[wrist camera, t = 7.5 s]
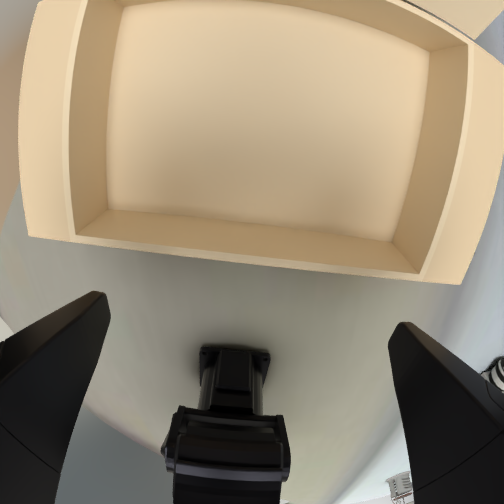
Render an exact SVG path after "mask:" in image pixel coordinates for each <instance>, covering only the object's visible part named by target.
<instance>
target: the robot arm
mask: <svg viewBox="0 0 504 504" xmlns="http://www.w3.org/2000/svg"><path fill="white" fill-rule="evenodd" d="M110 319H111V314H110V309H109V305H108V300H107V296H106V294H105V293H103V292H99V291H91V292H89V293H88V294H86V295H84V296H82V297H80V298H78V299H76V300H74V301H73V302H71V303H69V304H67V305H65V306H63V307H62V308H60V309H58V310H56V311H54V312H52V313H51V314H49V315H47V316H45V317H43V318H42V319H40V320H38V321H36V322H35V323H33V324H31V325H29V326H28V327H26V328H24V329H22V330H21V331H19V332H17V333H15V334H14V335H12V336H10V337H9V338H7V339H6V340H5V341H2V342H0V504H54V503H55V498H56V493H57V489H58V484H59V480H60V475H61V474H60V473H61V470H62V467H63V463H64V459H65V456H66V452H67V448H68V445H69V442H70V438H71V435H72V432H73V429H74V426H75V422H76V420H77V417H78V413H79V411H80V408H81V405H82V402H83V399H84V397H85V394H86V391H87V389H88V386H89V383H90V381H91V378H92V376H93V373H94V370H95V368H96V365H97V363H98V359H99V356H100V353H101V349H102V346H103V343H104V339H105V336H106V333H107V330H108V327H109V323H110ZM388 350H389V356H390V362H391V368H392V374H393V381H394V387H395V391H396V396H397V400H398V404H399V409H400V413H401V418H402V423H403V428H404V433H405V438H406V444H407V450H408V456H409V462H410V469H411V477H412V485H413V491H414V492H413V495H414V504H504V393H503V392H501V391H500V390H499V389H497V388H496V387H495V386H494V385H492V384H491V383H490V382H489V381H487V380H486V379H484V377H482V376H481V375H480V374H479V373H477V372H476V371H475V370H473V369H472V368H471V367H470V366H468V365H467V364H466V363H464V362H463V361H462V360H461V359H459V358H458V357H457V356H455V355H454V354H453V353H451V352H450V351H449V350H448V349H446V348H445V347H444V346H442V345H441V344H440V343H438V342H437V341H436V340H434V339H433V338H432V337H430V336H429V335H428V334H426V333H425V332H424V331H422V330H421V329H419V328H418V327H417V326H415V325H414V324H413V323H411V322H400V323H399V324H398V325H397V326H396V328H395V330H394V332H393V334H392V336H391V337H390V339H389V342H388ZM269 363H270V354H268V353H261V352H249V351H239V350H229V349H220V348H212V347H201V348H200V387H201V391H200V397H199V403H198V409H193V408H187V407H186V406H181V405H179V408H178V411H177V413H176V412H175V413H174V414H173V417H172V422H171V426H170V430H169V432H168V434H167V436H166V438H165V441H164V443H163V445H162V447H161V454H162V455H163V457H164V458H165V462H166V468H167V472H169V473H173V474H174V477H173V503H174V504H279V503H280V493H281V484H282V482H286V481H287V479H288V477H289V473H290V464H291V455H290V447H289V442H288V437H287V432H286V428H285V423H284V418H283V415H276V416H269V415H263V397H262V388H263V385H264V381H265V378H266V374H267V371H268V367H269Z"/></svg>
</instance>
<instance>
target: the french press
mask: <svg viewBox="0 0 504 504" xmlns="http://www.w3.org/2000/svg"><path fill="white" fill-rule="evenodd" d="M409 473H410V471H407V472H403V473H401V474H398V475H395V476H393V477H391V478H389V479H387V480H386V482H389V487H390V491H391V496H392V497H391V498H393V497H395V499H394V500H397V499H400V498H403V500H404V497H406V496H408V495H411V494H412V493H408V494H405V493H407V492H409V491H411V490H412V485H411V482H410V480H409V479H410V478H409ZM408 480H409V481H408ZM394 482H395V484H394ZM394 485H396V486H395V487H394ZM395 488H396V489H395ZM396 490H397V492H395V491H396ZM402 494H405V495H402ZM399 495H402V496H400V497H397V496H399ZM396 497H397V498H396ZM391 500H392V499H391ZM392 502H393V500H392ZM397 502H399V501H397ZM397 502H396V504H397ZM403 502H404V501H403ZM400 504H401V501H400ZM407 504H414V501H412V502H409V503H407Z"/></svg>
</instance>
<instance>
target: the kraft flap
mask: <svg viewBox="0 0 504 504" xmlns="http://www.w3.org/2000/svg"><path fill="white" fill-rule="evenodd" d="M407 1H409V2H411V3H413V4H415V5H417V6H419V7H421V8H423V9H425V10H427V11H429V12H431V13H433V14H434V15H436V16H438V17H440V18H441V19H443V20H445V21H446V22H448V23H450V24H451V25H453V26H455V27H456V28H458V29H459V30H461V31H462V32H464V33H465V34H467V35H468V36H470V37H471V38H472V39H474V40H475V39H476V38H477V37H478V36H479V35H480V34H481V33H482V32H483V31H484V30H485V29H486V28H487V26H488V25H489V24H490V23H491V22H492V21H493V20H494V19H495V18H496V17H497V16H498V15H499V14H500V13H501V12H502V11H503V10H504V0H407Z"/></svg>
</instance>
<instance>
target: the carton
mask: <svg viewBox="0 0 504 504" xmlns="http://www.w3.org/2000/svg"><path fill="white" fill-rule="evenodd" d="M18 143H19V144H18V145H19V167H20V180H21V189H22V198H23V205H24V212H25V218H26V223H27V229H28V234H29V236H32V237H39V238H46V239H54V240H61V241H68V242H76V243H83V244H91V245H98V246H106V247H113V248H121V249H129V250H137V251H145V252H153V253H161V254H169V255H177V256H186V257H194V258H203V259H211V260H220V261H228V262H237V263H246V264H255V265H264V266H273V267H282V268H291V269H301V270H310V271H320V272H329V273H339V274H349V275H359V276H369V277H380V278H390V279H401V280H411V281H422V282H434V283H445V284H457V285H460V284H461V282H462V280H463V278H464V276H465V273H466V271H467V269H468V267H469V264H470V262H471V260H472V257H473V255H474V253H475V250H476V248H477V245H478V242H479V240H480V237H481V234H482V232H483V229H484V226H485V223H486V220H487V217H488V214H489V211H490V207H491V204H492V201H493V197H494V193H495V190H496V186H497V182H498V178H499V173H500V169H501V164H502V159H503V154H504V65H502V64H501V63H500V62H499V61H498V60H497V59H495V58H494V57H493V56H492V55H490V54H489V53H488V52H486V51H485V50H484V49H483V48H481V47H480V46H478V45H477V44H476V43H474V42H473V41H472V40H470V39H469V38H467V37H466V36H464V35H463V34H461V33H460V32H458V31H457V30H455V29H453V28H452V27H450V26H449V25H447V24H445V23H444V22H442V21H440V20H439V19H437V18H435V17H433V16H431V15H430V14H428V13H426V12H424V11H422V10H420V9H418V8H416V7H414V6H412V5H410V4H408V3H406V2H404V1H401V0H43V1H41V2H39V3H38V5H37V9H36V12H35V15H34V19H33V23H32V27H31V31H30V35H29V39H28V44H27V49H26V54H25V60H24V66H23V73H22V80H21V90H20V102H19V123H18Z"/></svg>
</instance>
